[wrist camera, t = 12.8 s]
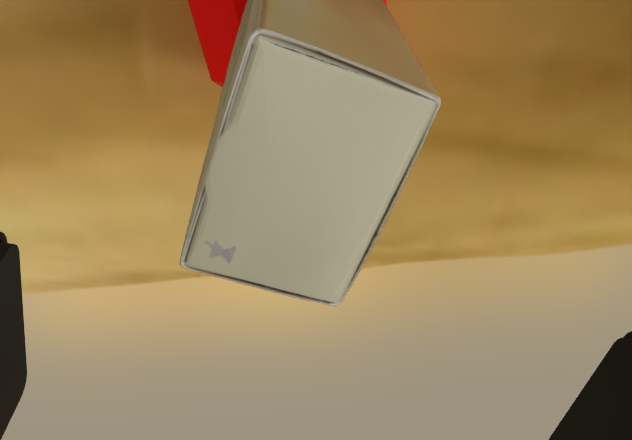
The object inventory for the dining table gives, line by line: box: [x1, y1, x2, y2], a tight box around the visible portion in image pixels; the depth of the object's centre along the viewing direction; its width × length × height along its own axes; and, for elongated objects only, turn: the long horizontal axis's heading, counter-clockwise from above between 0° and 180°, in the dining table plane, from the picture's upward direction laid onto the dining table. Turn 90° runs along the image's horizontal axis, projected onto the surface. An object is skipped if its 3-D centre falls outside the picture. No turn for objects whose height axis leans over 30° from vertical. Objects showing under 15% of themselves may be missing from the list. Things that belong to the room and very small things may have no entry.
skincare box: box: [180, 0, 441, 306], centre depth 19 cm, size 6×4×12 cm
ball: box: [188, 0, 387, 87], centre depth 27 cm, size 8×8×8 cm
